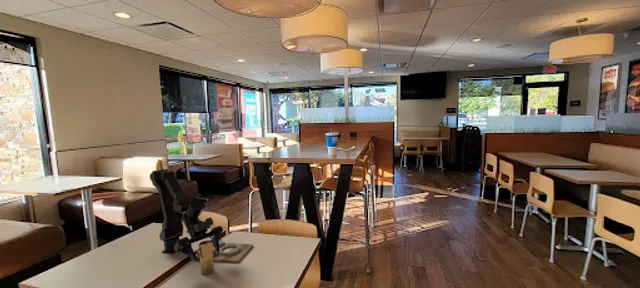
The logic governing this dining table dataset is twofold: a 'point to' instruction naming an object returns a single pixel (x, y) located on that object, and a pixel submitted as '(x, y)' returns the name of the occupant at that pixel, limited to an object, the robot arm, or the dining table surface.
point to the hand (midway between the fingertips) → (208, 256)
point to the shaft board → (229, 252)
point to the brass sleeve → (206, 257)
